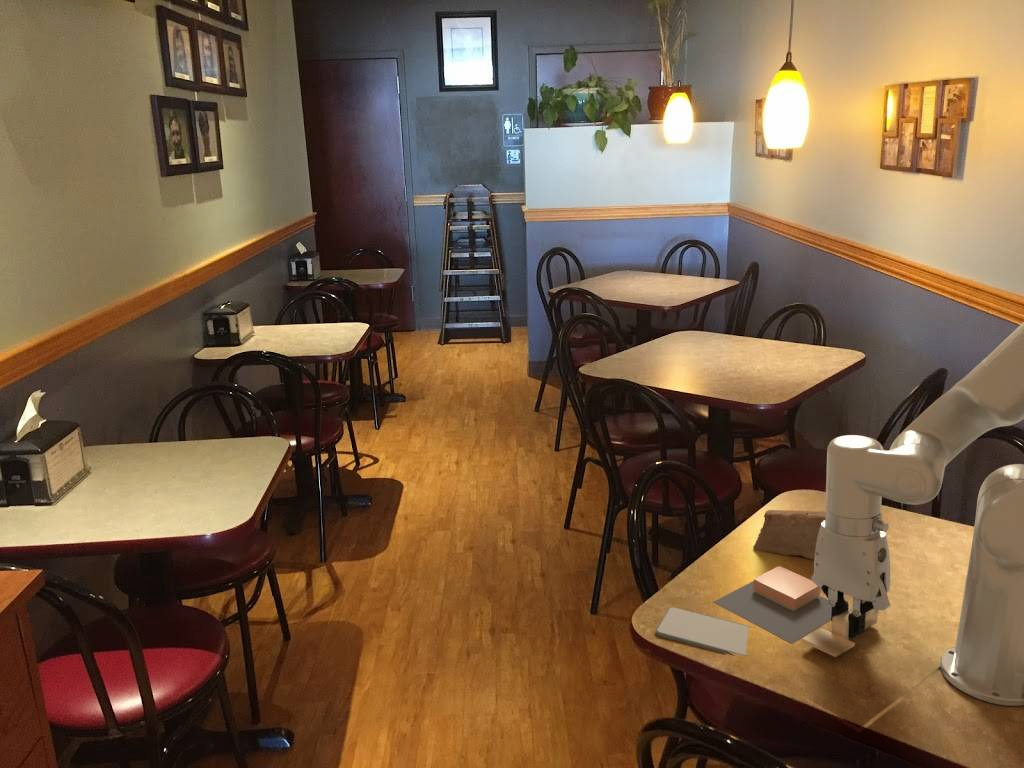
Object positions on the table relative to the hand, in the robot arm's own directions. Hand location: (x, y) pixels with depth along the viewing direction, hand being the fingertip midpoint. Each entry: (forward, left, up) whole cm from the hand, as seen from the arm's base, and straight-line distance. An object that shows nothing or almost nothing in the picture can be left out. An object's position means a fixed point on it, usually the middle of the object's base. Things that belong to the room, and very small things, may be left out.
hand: (847, 630), depth 127 cm
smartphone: (+14, +15, -2) cm, 21 cm away
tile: (+9, -3, 0) cm, 10 cm away
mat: (+12, 0, -2) cm, 12 cm away
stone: (+19, -18, -2) cm, 26 cm away
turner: (0, +1, 0) cm, 1 cm away
